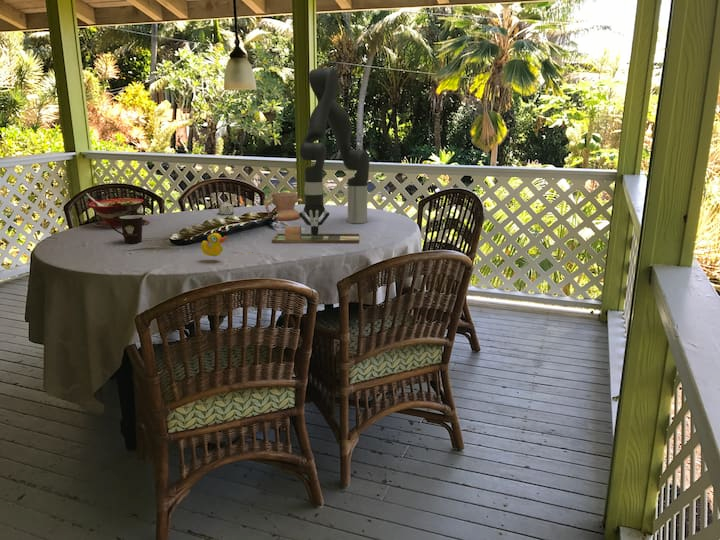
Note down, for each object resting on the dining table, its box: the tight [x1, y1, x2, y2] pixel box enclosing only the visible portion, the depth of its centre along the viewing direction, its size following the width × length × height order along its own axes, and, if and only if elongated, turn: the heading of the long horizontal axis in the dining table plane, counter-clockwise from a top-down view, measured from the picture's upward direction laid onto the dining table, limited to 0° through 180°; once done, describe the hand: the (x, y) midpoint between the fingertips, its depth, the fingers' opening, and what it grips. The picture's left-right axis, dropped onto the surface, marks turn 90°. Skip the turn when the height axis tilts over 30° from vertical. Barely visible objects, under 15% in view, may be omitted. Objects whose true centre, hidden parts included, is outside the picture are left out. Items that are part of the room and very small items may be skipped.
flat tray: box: [271, 233, 360, 244], centre depth 237 cm, size 14×35×1 cm, turn 90°
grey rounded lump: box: [217, 199, 236, 216], centre depth 285 cm, size 9×8×10 cm
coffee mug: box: [110, 214, 143, 244], centre depth 232 cm, size 12×9×10 cm
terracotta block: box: [284, 226, 302, 240], centre depth 237 cm, size 6×6×4 cm
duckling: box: [200, 232, 227, 257], centre depth 207 cm, size 10×4×8 cm, turn 80°
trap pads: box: [310, 236, 340, 240], centre depth 238 cm, size 12×12×1 cm
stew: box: [85, 192, 150, 229], centre depth 262 cm, size 28×24×16 cm
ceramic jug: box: [264, 191, 303, 222], centre depth 276 cm, size 18×14×14 cm
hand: (314, 235), depth 237 cm, fingers closed
